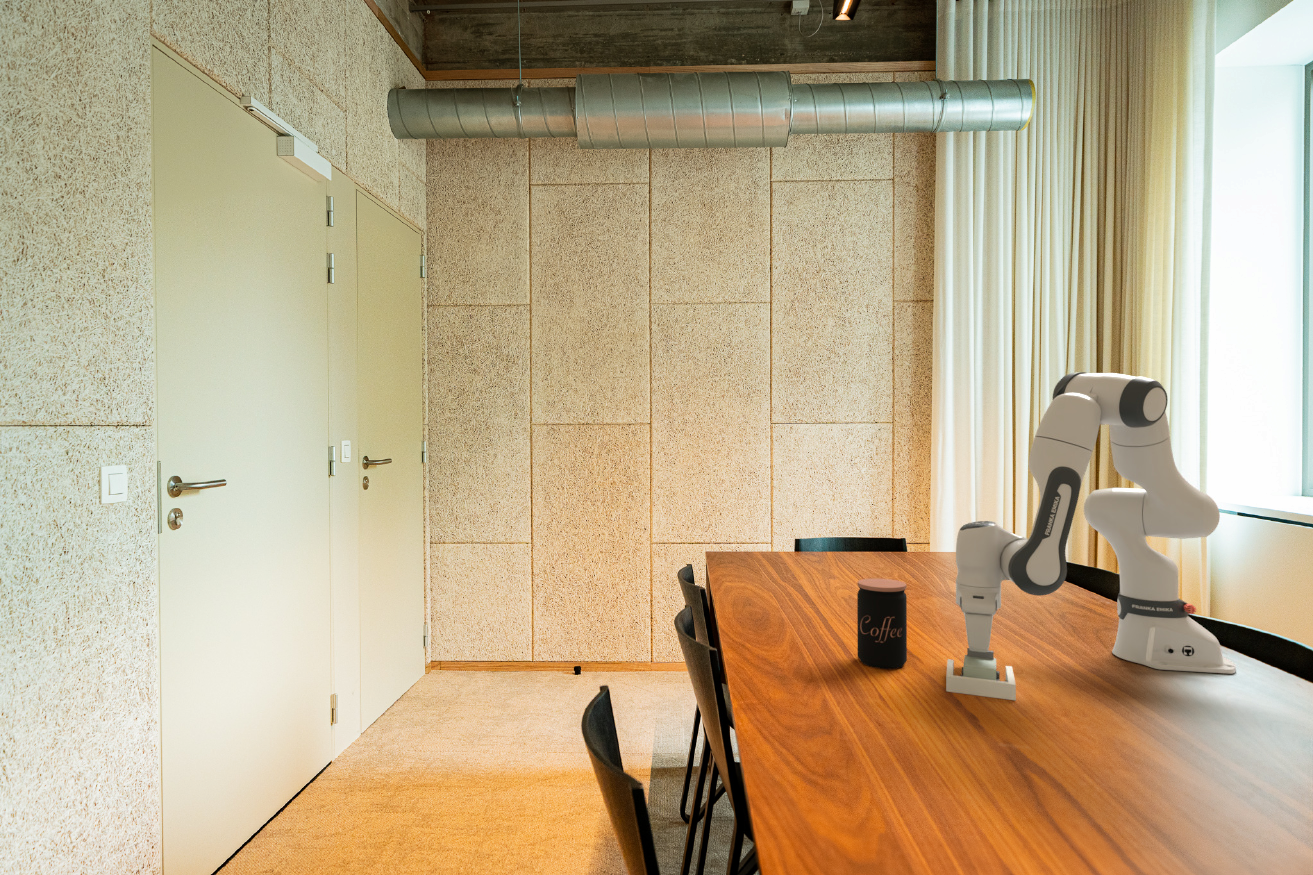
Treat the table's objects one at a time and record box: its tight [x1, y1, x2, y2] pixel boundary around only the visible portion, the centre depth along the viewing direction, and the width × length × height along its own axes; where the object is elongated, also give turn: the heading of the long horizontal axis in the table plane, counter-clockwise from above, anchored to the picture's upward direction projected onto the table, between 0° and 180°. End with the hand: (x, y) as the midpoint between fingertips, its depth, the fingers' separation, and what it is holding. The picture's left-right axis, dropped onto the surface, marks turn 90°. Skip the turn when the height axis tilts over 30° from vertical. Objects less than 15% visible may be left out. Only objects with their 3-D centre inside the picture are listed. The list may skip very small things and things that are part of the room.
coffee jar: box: [856, 578, 908, 670], centre depth 159 cm, size 11×11×18 cm
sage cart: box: [959, 647, 1001, 681], centre depth 145 cm, size 7×8×6 cm
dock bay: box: [945, 658, 1017, 701], centre depth 144 cm, size 12×12×3 cm
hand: (978, 661), depth 151 cm, fingers closed
